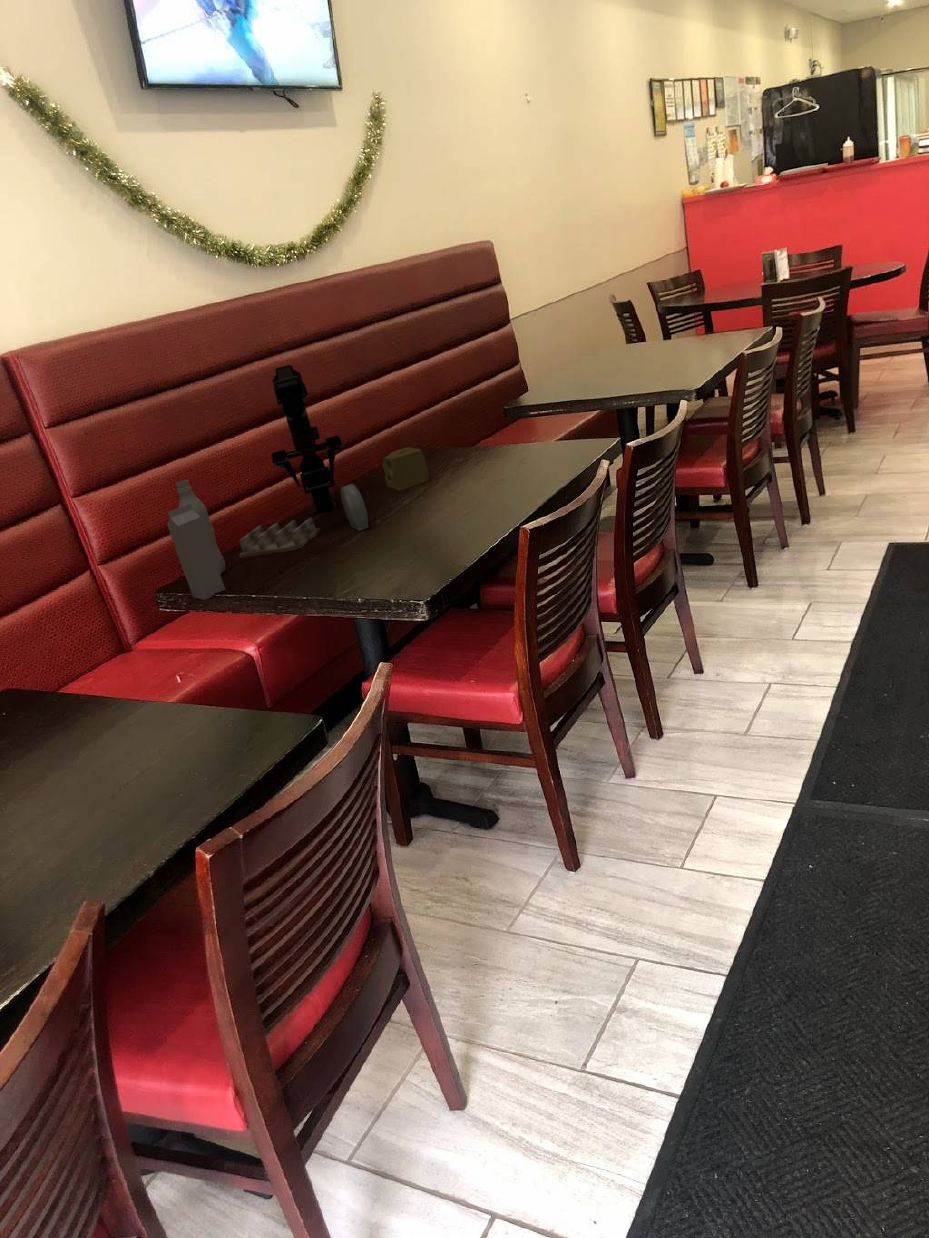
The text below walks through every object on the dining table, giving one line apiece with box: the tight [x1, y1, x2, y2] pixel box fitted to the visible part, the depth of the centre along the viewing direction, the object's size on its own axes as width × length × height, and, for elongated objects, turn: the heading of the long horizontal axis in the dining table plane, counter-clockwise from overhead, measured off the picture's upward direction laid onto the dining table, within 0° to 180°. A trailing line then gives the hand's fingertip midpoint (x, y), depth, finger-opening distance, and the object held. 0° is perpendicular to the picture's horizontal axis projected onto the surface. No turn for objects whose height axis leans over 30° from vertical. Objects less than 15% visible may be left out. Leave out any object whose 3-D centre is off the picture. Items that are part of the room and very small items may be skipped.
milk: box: [166, 504, 226, 601], centre depth 235 cm, size 6×6×22 cm
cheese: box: [382, 446, 430, 492], centre depth 296 cm, size 10×11×10 cm
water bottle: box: [175, 479, 226, 576], centre depth 249 cm, size 7×7×25 cm
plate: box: [340, 483, 369, 532], centre depth 262 cm, size 12×3×12 cm, turn 25°
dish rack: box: [238, 517, 322, 559], centre depth 265 cm, size 14×18×4 cm
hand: (316, 482), depth 263 cm, fingers open, 9 cm apart
